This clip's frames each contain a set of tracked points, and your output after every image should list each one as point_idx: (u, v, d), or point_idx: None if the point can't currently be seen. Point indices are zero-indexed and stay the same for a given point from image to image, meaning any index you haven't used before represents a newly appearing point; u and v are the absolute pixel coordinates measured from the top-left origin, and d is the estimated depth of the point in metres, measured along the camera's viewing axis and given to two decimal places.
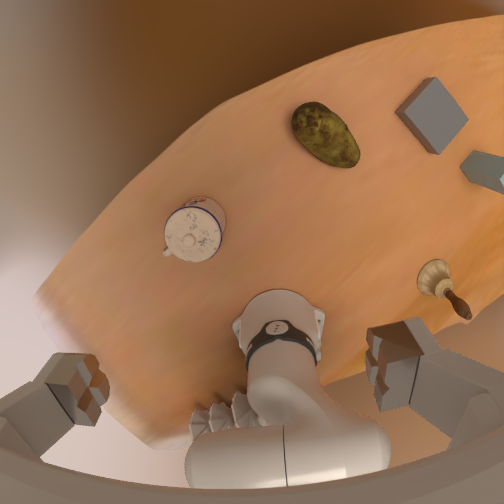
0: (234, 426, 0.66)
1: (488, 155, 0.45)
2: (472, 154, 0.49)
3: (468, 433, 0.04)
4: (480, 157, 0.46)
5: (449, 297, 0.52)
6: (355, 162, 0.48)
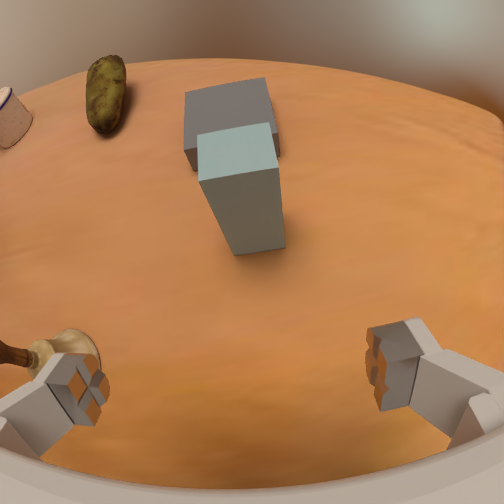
0: None
1: None
2: None
3: (468, 433, 0.04)
4: None
5: None
6: (98, 118, 0.37)
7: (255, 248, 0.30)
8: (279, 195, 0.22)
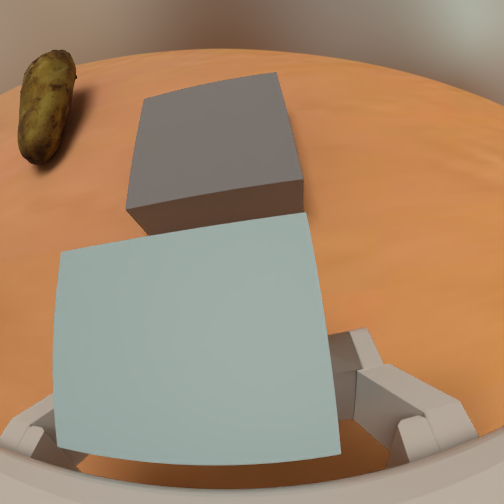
0: None
1: None
2: None
3: (398, 457, 0.04)
4: None
5: None
6: (26, 143, 0.22)
7: None
8: None
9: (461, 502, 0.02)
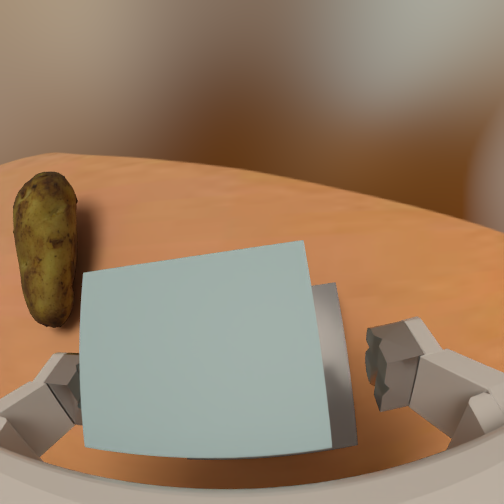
0: None
1: None
2: None
3: (468, 433, 0.04)
4: None
5: None
6: (37, 314, 0.21)
7: None
8: None
9: (461, 502, 0.02)
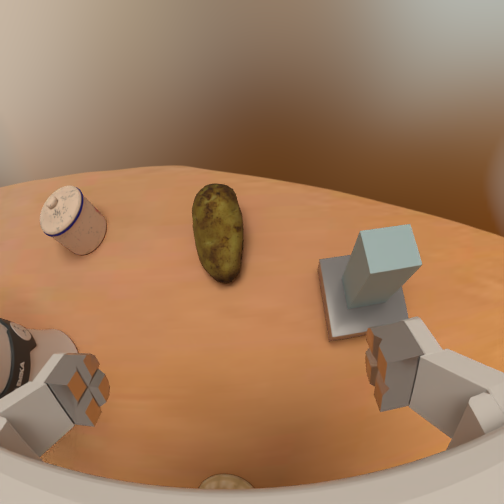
0: None
1: None
2: None
3: (468, 433, 0.04)
4: None
5: None
6: (222, 272, 0.42)
7: (366, 304, 0.36)
8: (409, 277, 0.28)
9: (461, 502, 0.02)
